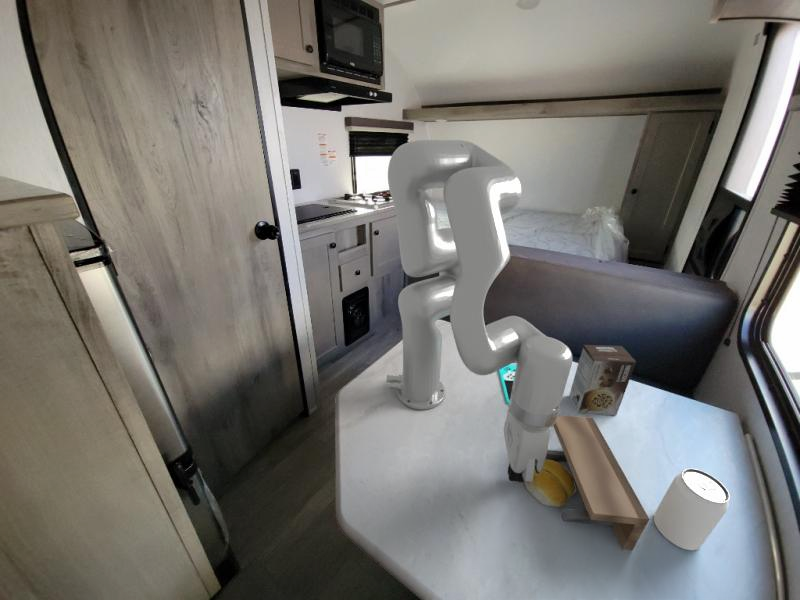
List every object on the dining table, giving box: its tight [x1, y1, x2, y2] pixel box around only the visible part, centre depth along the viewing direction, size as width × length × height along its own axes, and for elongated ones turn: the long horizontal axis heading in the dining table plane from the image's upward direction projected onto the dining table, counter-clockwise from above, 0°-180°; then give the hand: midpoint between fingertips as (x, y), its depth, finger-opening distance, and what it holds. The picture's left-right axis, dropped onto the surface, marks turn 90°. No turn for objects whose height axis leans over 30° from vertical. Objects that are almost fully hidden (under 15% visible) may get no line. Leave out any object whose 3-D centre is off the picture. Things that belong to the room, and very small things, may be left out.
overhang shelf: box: [546, 414, 650, 551], centre depth 59 cm, size 10×20×8 cm, turn 174°
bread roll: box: [523, 459, 576, 507], centre depth 61 cm, size 8×9×4 cm
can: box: [653, 467, 731, 551], centre depth 52 cm, size 6×6×12 cm
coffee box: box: [569, 344, 637, 416], centre depth 77 cm, size 9×6×16 cm
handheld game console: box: [498, 364, 517, 405], centre depth 88 cm, size 10×16×1 cm, turn 173°
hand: (516, 477), depth 62 cm, fingers closed
